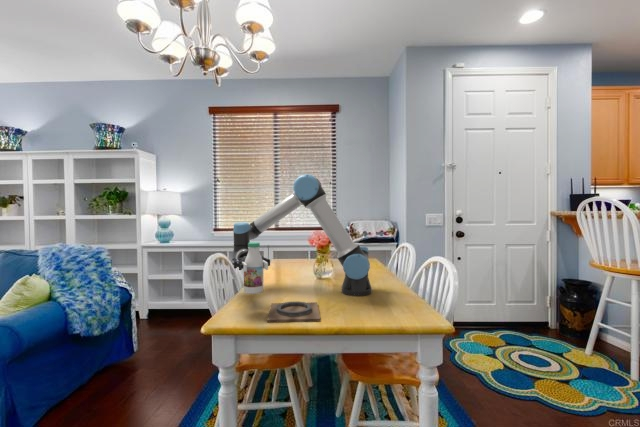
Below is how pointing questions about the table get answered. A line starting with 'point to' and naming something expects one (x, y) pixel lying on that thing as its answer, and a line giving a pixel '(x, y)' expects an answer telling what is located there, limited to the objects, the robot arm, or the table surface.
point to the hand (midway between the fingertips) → (256, 267)
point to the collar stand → (293, 312)
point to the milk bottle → (253, 270)
